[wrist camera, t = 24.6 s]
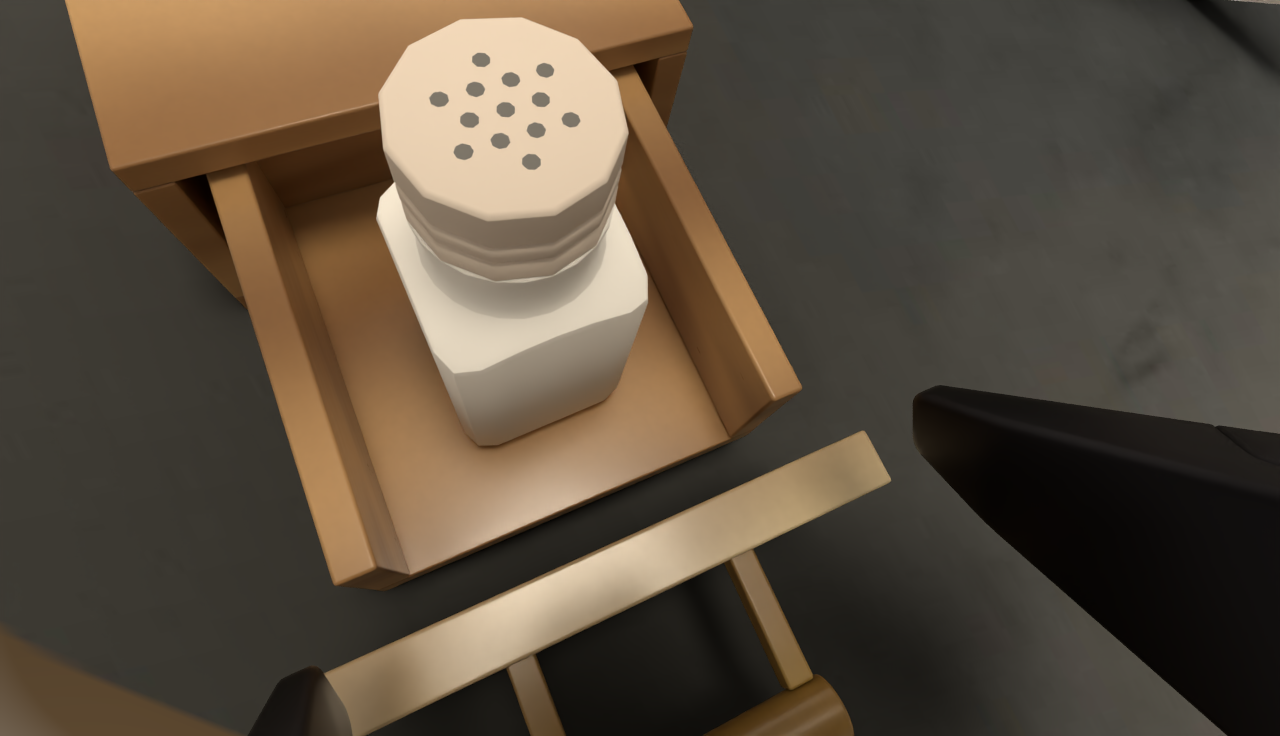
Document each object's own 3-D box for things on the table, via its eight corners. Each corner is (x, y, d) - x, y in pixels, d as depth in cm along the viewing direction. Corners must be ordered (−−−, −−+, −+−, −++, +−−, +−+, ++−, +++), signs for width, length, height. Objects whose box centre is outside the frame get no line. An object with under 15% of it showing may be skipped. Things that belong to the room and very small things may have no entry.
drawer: (885, 666, 18) (1005, 688, 13) (453, 912, 15) (417, 1047, 10) (610, 119, 22) (629, -6, 17) (236, 222, 19) (142, 103, 14)
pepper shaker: (418, 320, 18) (297, 28, 9) (560, 269, 19) (583, -37, 10) (476, 460, 17) (408, 294, 8) (623, 398, 18) (711, 187, 9)
